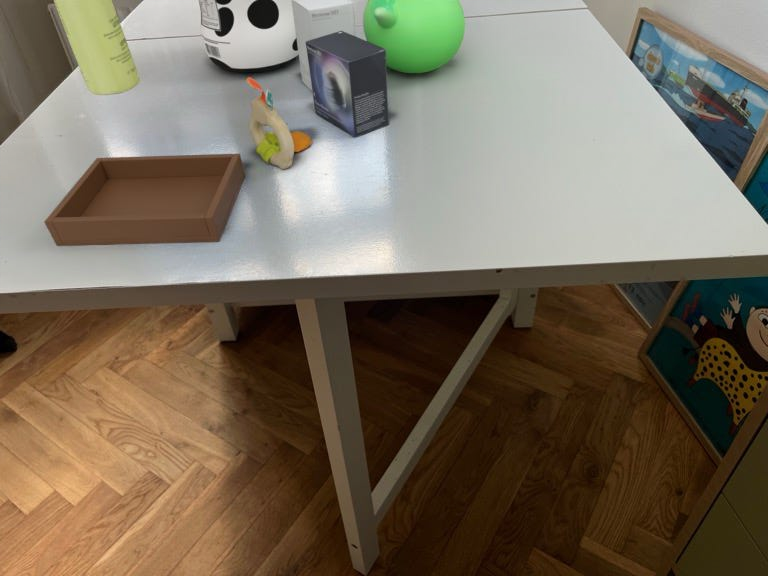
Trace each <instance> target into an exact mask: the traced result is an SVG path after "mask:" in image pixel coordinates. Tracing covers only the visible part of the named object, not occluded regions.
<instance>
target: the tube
mask: <svg viewBox="0 0 768 576" xmlns="http://www.w3.org/2000/svg"><path fill="white" fill-rule="evenodd" d="M53 4H54V5H55V8H56V11H57V14H58V16H59V19H60V21H61V25H62V26H63V29H64V32H65V34H66V36H67V37H66V38H67V39H68V42H69V45H70V47H71V50H72V53H73V56H74V58H75V60H76V63H77V66H78V68H79V71H80V73H81V76H82V79H83V81H84V84H85V86H86V88H87V90H88V92H89V93H91V94H93V95H96V96H97V95H98V96H110V95H111V96H112V95H118V94H122V93H125V92H128V91H130V90H132V89H133V88H135V87H136V86H138V85H139V83H140V81H141V80H140V76H139V72H138V70H137V67H136V64H135V61H134V58H133V55H132V53H131V50H130V47H129V44H128V41H127V38H126V36H125V32H124V30H123V27H122V25H121V22H120V19H119V17H118V14H117V11H116V9H115V6H114V3H113V0H53Z"/></svg>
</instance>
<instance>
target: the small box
mask: <svg viewBox="0 0 768 576" xmlns="http://www.w3.org/2000/svg"><path fill="white" fill-rule="evenodd" d="M305 43H306V48H307V56H308V63H309V70H310V77H311V84H312V91H313V92H312V91H311V92H312V98H313V105H314V113H315V114H316V115H318V116H319V117H321V118H323V119H324V120H326V121H327V122H329V123H331V124H332V125H334V126H336V127H337V128H339V129H341V130H342V131H344V132H345V133H347V134H349V135H350V136H352V137H353V138H357V137H359V136H362V135H366V134H367V133H370V132H373V131H376V130H379V129H381V128H384V127H386V126H389V125H390V117H389V116H390V115H389V102H388V99H389V98H388V81H387V80H388V79H387V66H386V49H385V48H382V47H380V46H377V45H375V44H373V43H370V42H368V41H367V40H366V39H363V38H361V37H358V36H353V35H351V34H348V33H346V32H344V31H339V32H335V33H332V34H329V35H325V36H322V37H319V38H316V39H312V40H309V41H306V42H305Z"/></svg>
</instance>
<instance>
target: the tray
mask: <svg viewBox="0 0 768 576" xmlns="http://www.w3.org/2000/svg"><path fill="white" fill-rule="evenodd" d="M245 177H246V172H245V170H244V165H243V160H242V156H241V153H211V154H210V153H209V154H183V155H182V154H179V155H178V154H177V155H147V156H145V155H144V156H112V157H96V158H95V160H94V161H93V162H92V163H91V165H89V167H88V168H87V169H86V171H85V172H84V173H83V174H82V175H81V176H80V178H79V179H78V180H77V181H76V183H75V184H74V185H73V186H72V187H71V188H70V190H69V191H68V192H67V194H66V195H65V196H64V197H63V198H62V200H61V201H60V202H59V203H58V204H57V206H55V208H54V209H53V210H52V212H51V213H50V214H49V215H48V216H47V218H46V219H45V220H44V221H43V223H44V224H45V226H46V228H47V230H48V232H49V234H50V235H51V237H52V239H53V241H54V243H55V245H56V246H59V247H60V246H94V245H95V246H97V245H100V246H101V245H135V244H139V245H141V244H174V243H175V244H178V243H217V242H218V243H219V242H221V238H222V236H223V233H224V230H225V228H226V225H227V223H228V221H229V218H230V215H231V213H232V210H233V208H234V205H235V203H236V200H237V197H238V195H239V192H240V191H241V187H242V185H243V182H244V180H245Z"/></svg>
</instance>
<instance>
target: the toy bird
mask: <svg viewBox="0 0 768 576" xmlns="http://www.w3.org/2000/svg"><path fill="white" fill-rule="evenodd" d="M362 16H363V17H362V20H363V21H362V26H363V33H364V37H365V41H368V42H370V43H373V44H375V45H377V46H380V47H382V48H385V49H386V67H388V68H389V69H390V70H391V69H392V70H394V71H397V72H400V73H405V74H423V73H427V72H432V71H434V70H436V69H439V68H440V67H442V66H444V65H445V64H447V63H448V62H449V61H450V60H452V58H454V56H455V55H456V54H457V53H458V51H459V49H460V48H461V45H462V43H463V41H464V38H465V37H464V36H465V31H466V18H465V13H464V10H463V6H462V4H461V1H460V0H367V1H366V4H365V6H364V11H363V15H362Z"/></svg>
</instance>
